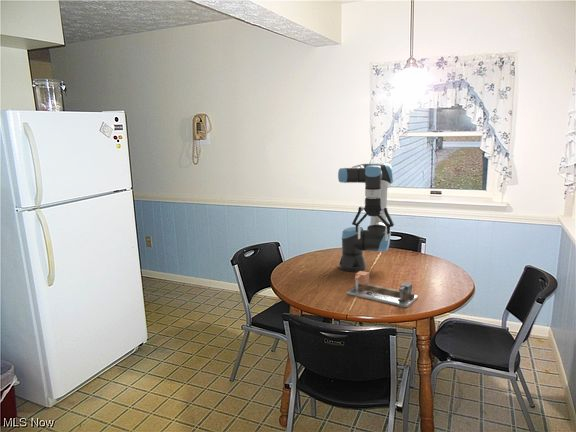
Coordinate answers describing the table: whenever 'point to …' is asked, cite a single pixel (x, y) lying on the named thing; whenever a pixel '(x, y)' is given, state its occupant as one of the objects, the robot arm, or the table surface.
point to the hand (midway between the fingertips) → (372, 239)
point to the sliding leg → (361, 278)
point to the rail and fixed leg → (392, 290)
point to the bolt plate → (381, 296)
